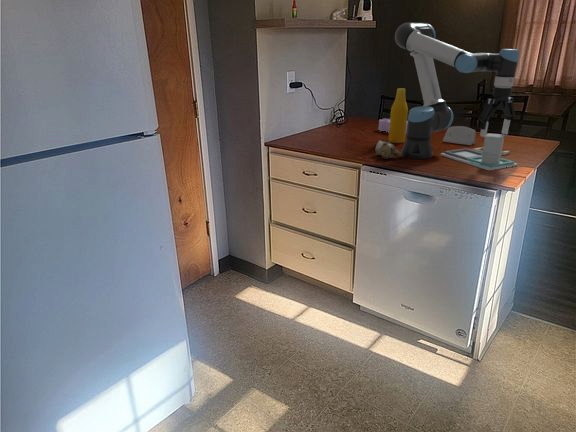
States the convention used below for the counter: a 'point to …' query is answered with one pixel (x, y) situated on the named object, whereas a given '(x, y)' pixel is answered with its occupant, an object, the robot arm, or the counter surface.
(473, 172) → the counter surface
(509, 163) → the pocket plate
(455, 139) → the gray curved slotted casing
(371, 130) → the counter surface
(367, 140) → the counter surface
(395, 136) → the beer bottle
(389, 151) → the ceramic sculpture
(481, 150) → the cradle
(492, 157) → the supplement box
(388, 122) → the clip
